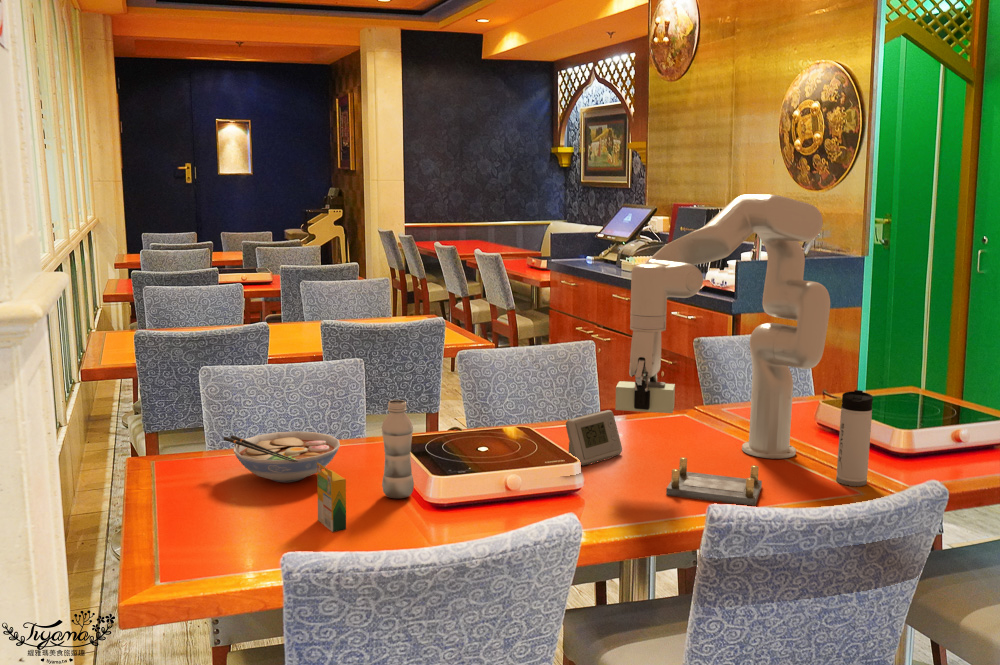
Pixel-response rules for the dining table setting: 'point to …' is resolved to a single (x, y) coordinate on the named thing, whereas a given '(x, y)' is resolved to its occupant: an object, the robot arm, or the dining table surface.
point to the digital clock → (593, 437)
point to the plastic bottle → (397, 451)
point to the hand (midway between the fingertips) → (645, 404)
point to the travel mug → (854, 438)
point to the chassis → (714, 486)
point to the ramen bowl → (285, 454)
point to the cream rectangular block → (659, 397)
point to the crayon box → (331, 499)
